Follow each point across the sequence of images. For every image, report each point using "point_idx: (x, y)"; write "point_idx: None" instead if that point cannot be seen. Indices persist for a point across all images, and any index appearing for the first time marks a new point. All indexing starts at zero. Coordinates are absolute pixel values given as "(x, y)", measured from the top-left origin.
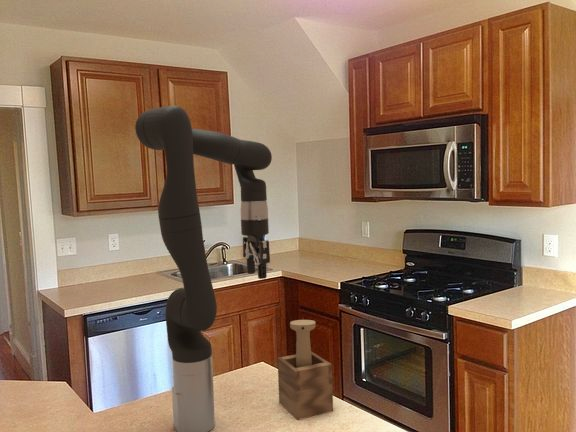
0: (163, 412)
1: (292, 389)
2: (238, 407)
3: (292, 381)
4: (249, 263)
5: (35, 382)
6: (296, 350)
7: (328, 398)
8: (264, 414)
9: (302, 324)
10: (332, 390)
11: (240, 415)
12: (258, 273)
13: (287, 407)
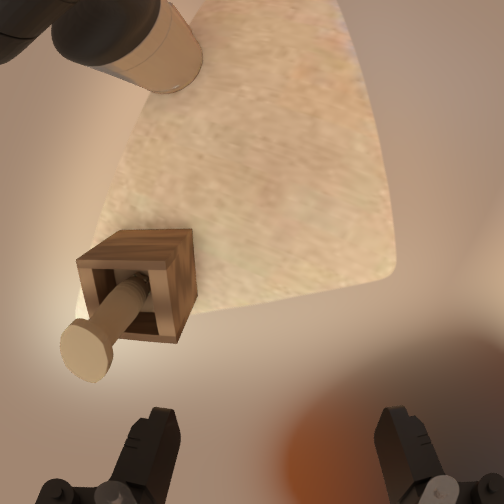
0: (256, 20)
1: (112, 244)
2: (206, 150)
3: (103, 250)
4: (402, 473)
5: None
6: (114, 300)
7: None
8: (157, 186)
9: (65, 345)
10: None
11: (172, 144)
12: (149, 431)
13: (153, 231)
